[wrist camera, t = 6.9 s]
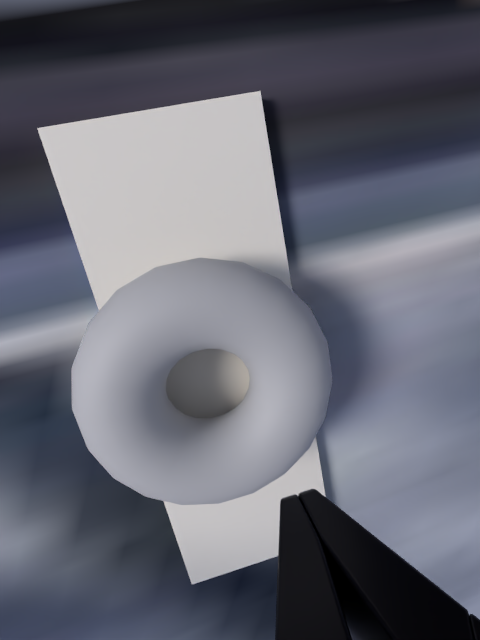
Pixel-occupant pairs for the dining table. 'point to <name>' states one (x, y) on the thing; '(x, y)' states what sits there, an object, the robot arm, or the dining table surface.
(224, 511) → the placemat
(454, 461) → the dining table surface
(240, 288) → the donut
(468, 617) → the robot arm
